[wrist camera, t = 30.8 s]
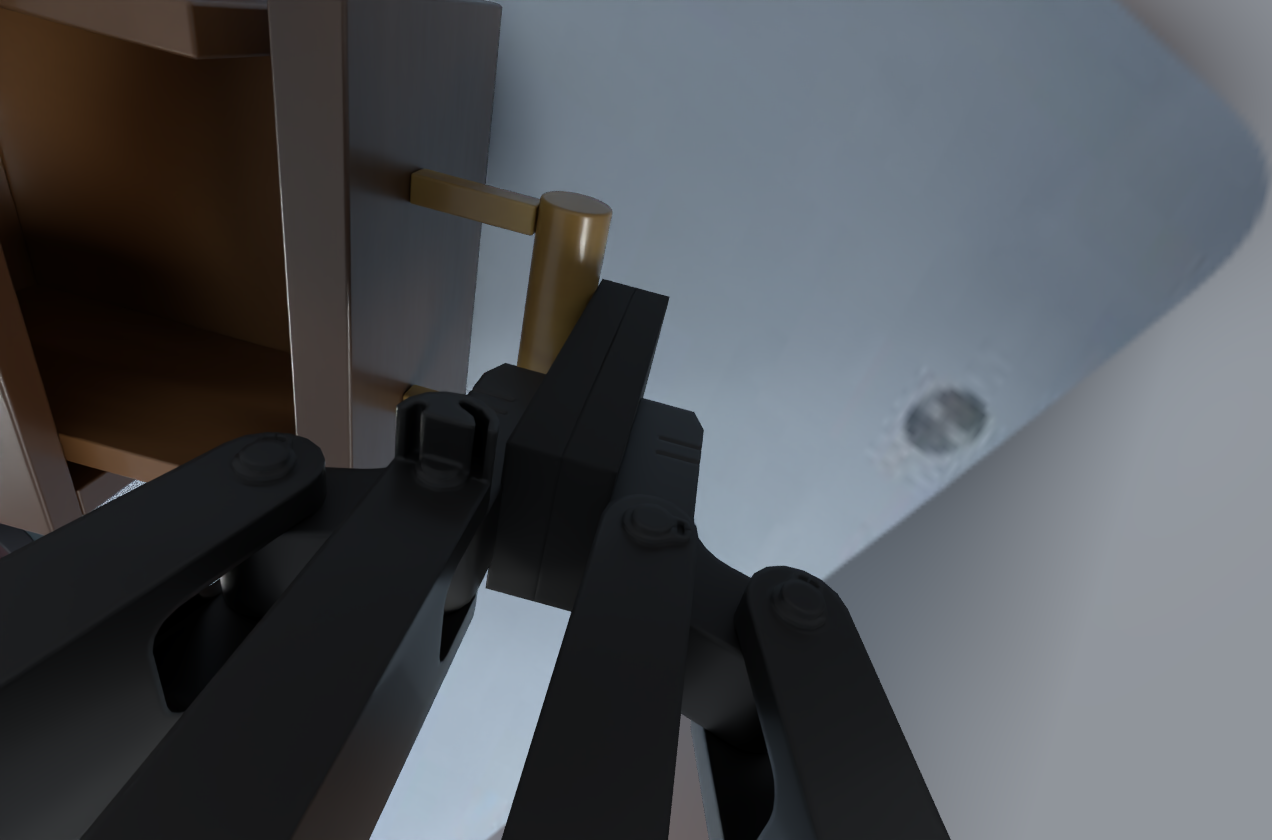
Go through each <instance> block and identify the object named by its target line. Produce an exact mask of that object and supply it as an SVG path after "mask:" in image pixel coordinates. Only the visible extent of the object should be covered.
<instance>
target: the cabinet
mask: <svg viewBox="0 0 1272 840" xmlns="http://www.w3.org/2000/svg"><path fill="white" fill-rule="evenodd" d="M134 480H136V479H132V478H129V477H125V476H121V475H118V474H114V473H110V472H107V471H103V470H100V469H96V468H92V467H89V466H85V465H82V464H78V463H74V462H71V461H67V460H66V458H65V455H64V451H63V448H62V445H61V441H60V438H59V435H58V431H57V428H56V425H55V421H54V418H53V415H52V411H51V408H50V405H49V401H48V398H47V395H46V391H45V388H44V385H43V381H42V378H41V375H40V371H39V368H38V365H37V361H36V358H35V355H34V351H33V348H32V345H31V341H30V338H29V334H28V331H27V328H26V324H25V321H24V318H23V314H22V311H21V308H20V304H19V301H18V298H17V294H16V291H15V288H14V284H13V281H12V278H11V274H10V271H9V268H8V264H7V261H6V258H5V254H4V251H3V248H2V244H1V241H0V523H2V524H5V525H9V526H12V527H16V528H19V529H23V530H27V531H30V532H34V533H37V534H41V535H46V534H48V533H50V532H52V531H54V530H56V529H58V528H60V527H62V526H64V525H66V524H68V523H70V522H72V521H74V520H76V519H77V518H79V517H81V516H83V515H85V514H87V513H89V512H91V511H93V510H94V509H96V508H97V507H99V506H100V505H101V504H103V503H104V502H105V501H107V500H108V499H110V498H111V497H112V496H114V495H115V494H116V493H118V492H119V491H121V490H122V489H123V488H125V487H126V486H127V485H129V484H130V483H132V482H133V481H134Z"/></svg>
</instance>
